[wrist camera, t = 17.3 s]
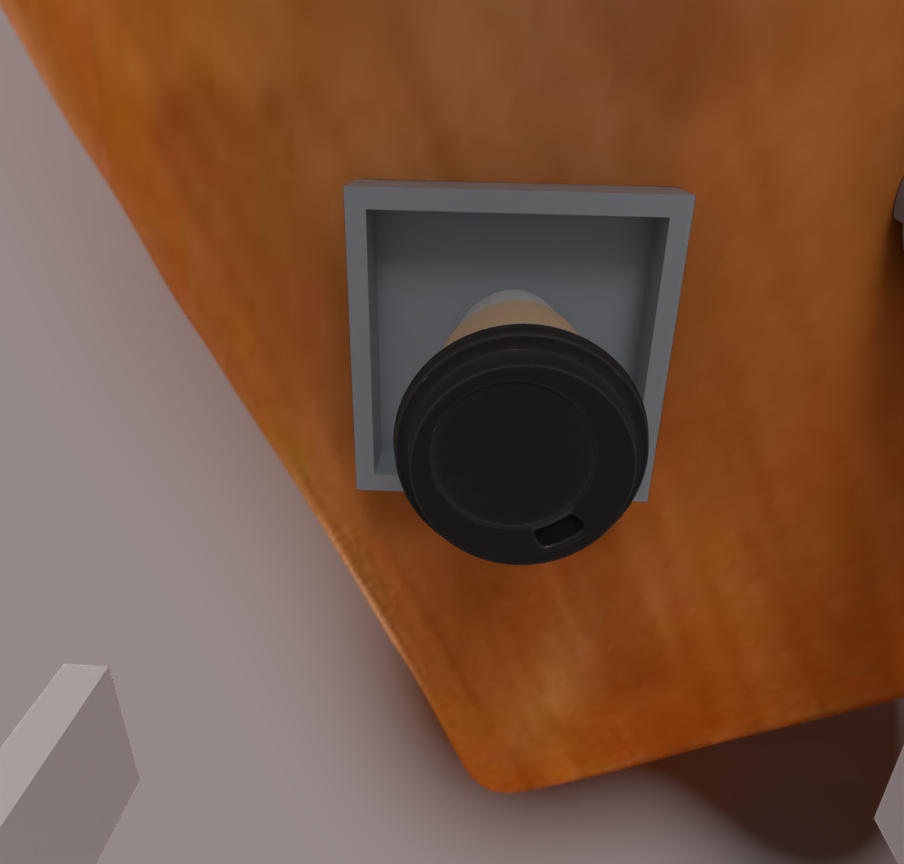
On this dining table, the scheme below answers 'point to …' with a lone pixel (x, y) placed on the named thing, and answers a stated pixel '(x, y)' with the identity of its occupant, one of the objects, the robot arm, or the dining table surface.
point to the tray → (505, 282)
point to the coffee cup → (520, 435)
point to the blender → (900, 206)
